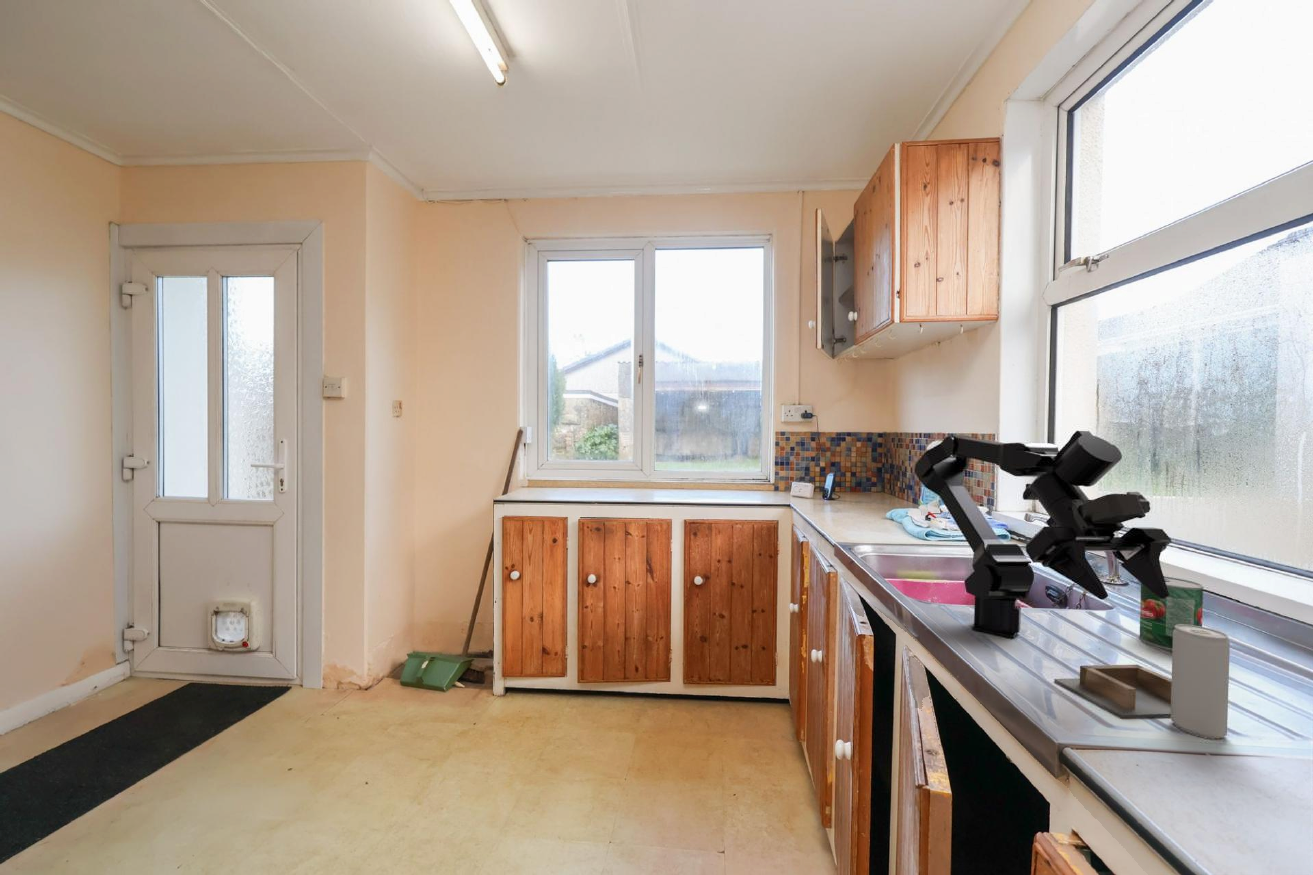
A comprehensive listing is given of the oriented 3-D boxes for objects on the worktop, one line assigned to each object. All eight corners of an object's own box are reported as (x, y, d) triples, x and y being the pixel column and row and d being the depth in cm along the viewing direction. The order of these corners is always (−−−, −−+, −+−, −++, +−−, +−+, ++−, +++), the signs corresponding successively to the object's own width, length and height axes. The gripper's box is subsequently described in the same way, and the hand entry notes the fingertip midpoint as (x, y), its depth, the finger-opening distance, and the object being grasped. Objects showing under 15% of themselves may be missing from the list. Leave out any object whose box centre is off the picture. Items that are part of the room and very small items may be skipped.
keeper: (1054, 681, 77) (1054, 661, 77) (1141, 679, 78) (1142, 659, 78) (1121, 718, 67) (1122, 695, 67) (1220, 715, 68) (1221, 692, 68)
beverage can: (1238, 744, 62) (1242, 640, 62) (1189, 738, 63) (1193, 636, 63) (1205, 722, 67) (1208, 626, 67) (1160, 717, 68) (1163, 622, 67)
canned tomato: (1215, 653, 89) (1217, 587, 89) (1171, 653, 89) (1173, 587, 89) (1167, 635, 97) (1169, 575, 97) (1126, 635, 97) (1128, 574, 97)
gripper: (1043, 470, 77) (1115, 566, 66) (1160, 473, 79) (1248, 566, 68) (1001, 516, 85) (1058, 609, 74) (1107, 518, 87) (1179, 608, 76)
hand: (1135, 598), depth 73 cm, fingers open, 9 cm apart
